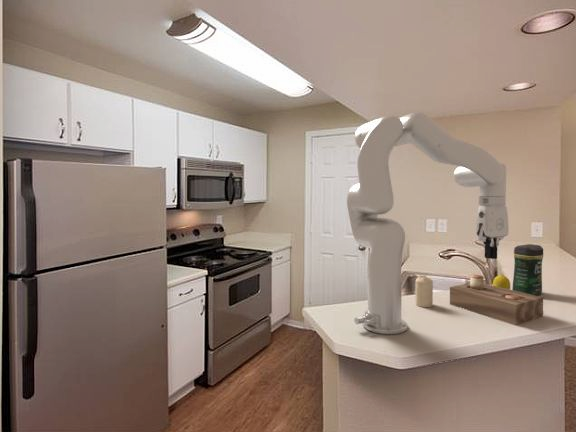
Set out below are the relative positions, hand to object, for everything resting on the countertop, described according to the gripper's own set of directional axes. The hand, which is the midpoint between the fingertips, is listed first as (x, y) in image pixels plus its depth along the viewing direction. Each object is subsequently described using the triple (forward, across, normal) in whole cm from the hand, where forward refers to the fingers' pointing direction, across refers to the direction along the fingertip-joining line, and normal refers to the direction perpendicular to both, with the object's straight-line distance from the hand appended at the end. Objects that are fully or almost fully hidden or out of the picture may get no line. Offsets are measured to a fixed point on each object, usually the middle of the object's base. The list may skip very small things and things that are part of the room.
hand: (490, 258), depth 114 cm
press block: (+17, 0, -1) cm, 17 cm away
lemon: (+17, +17, +7) cm, 25 cm away
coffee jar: (+17, +28, +5) cm, 33 cm away
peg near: (+17, 0, -7) cm, 18 cm away
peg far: (+13, 0, +5) cm, 14 cm away
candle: (+17, -15, +13) cm, 27 cm away
